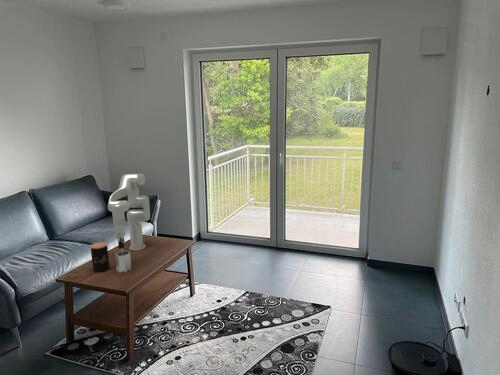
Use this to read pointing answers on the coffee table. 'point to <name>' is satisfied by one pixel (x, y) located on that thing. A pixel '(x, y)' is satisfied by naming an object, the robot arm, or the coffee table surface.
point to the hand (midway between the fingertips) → (121, 247)
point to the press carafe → (123, 261)
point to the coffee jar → (100, 256)
